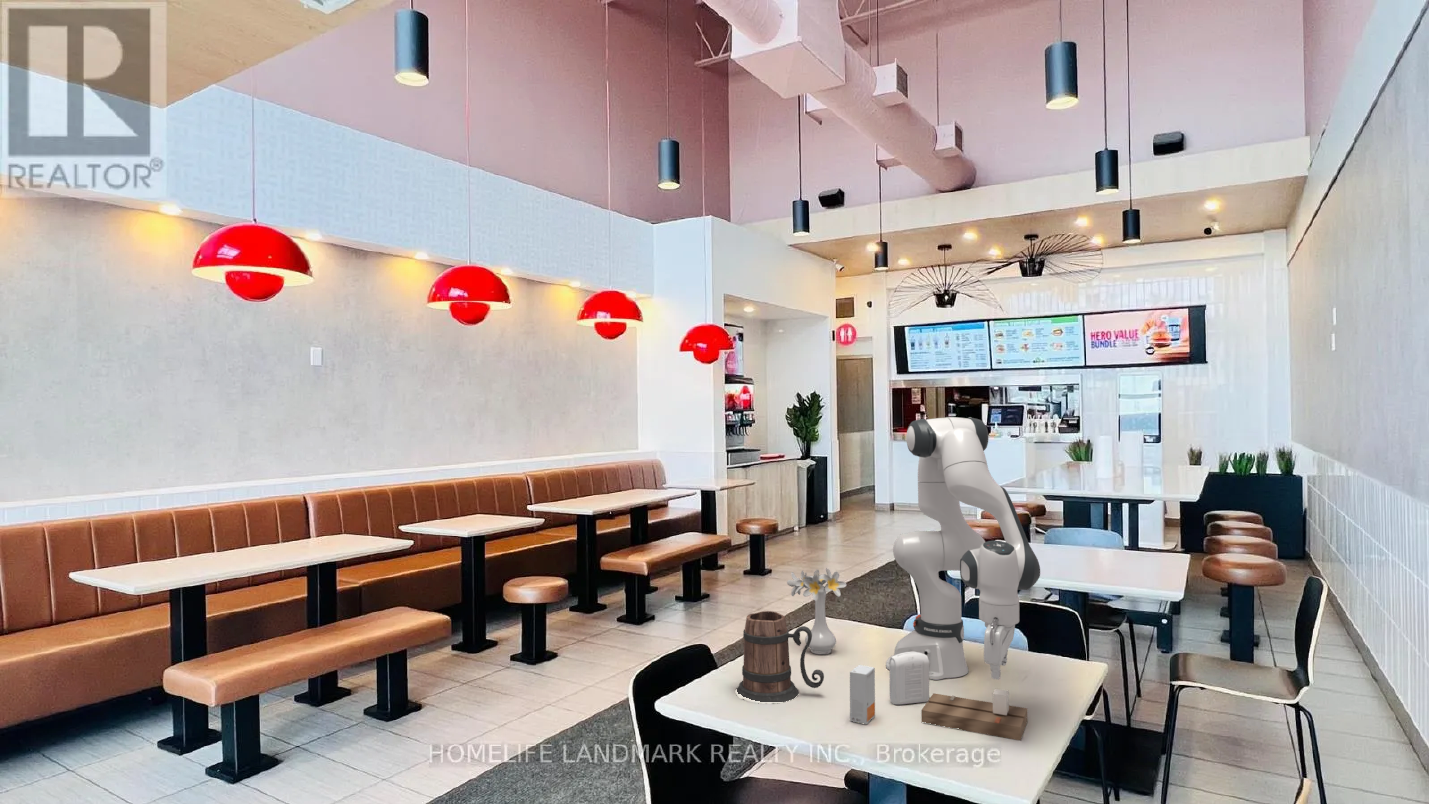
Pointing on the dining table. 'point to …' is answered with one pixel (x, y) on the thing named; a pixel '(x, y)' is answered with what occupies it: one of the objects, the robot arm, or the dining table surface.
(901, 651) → the robot arm
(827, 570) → the flower vase
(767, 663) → the tankard
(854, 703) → the skincare box
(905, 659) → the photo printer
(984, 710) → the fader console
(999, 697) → the fader knob
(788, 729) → the dining table surface
